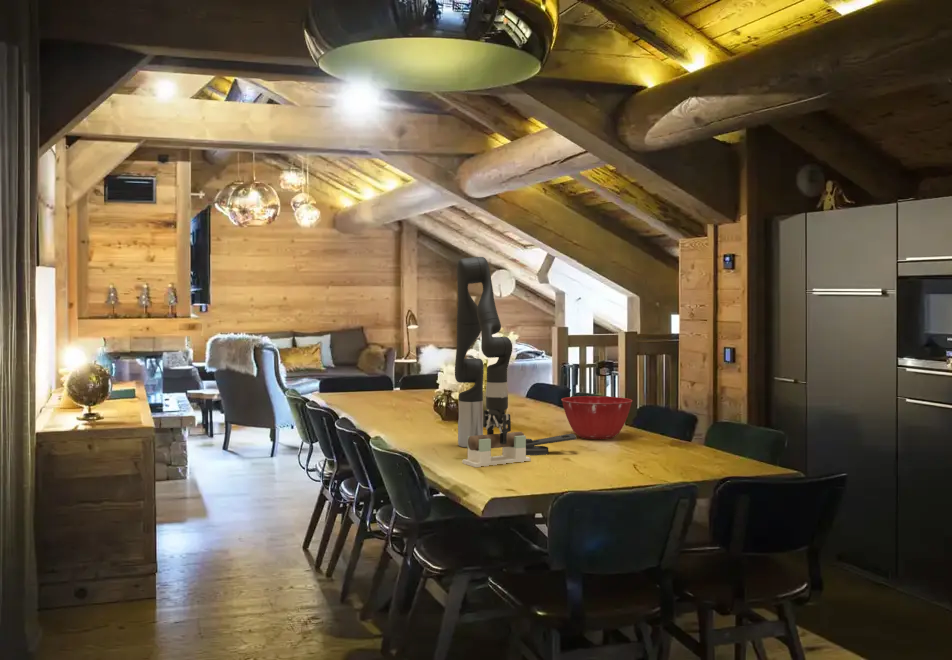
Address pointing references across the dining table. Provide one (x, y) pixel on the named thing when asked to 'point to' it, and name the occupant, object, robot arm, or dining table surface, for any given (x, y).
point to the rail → (492, 440)
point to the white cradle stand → (508, 456)
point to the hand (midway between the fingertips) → (496, 442)
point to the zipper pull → (543, 450)
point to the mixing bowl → (596, 415)
